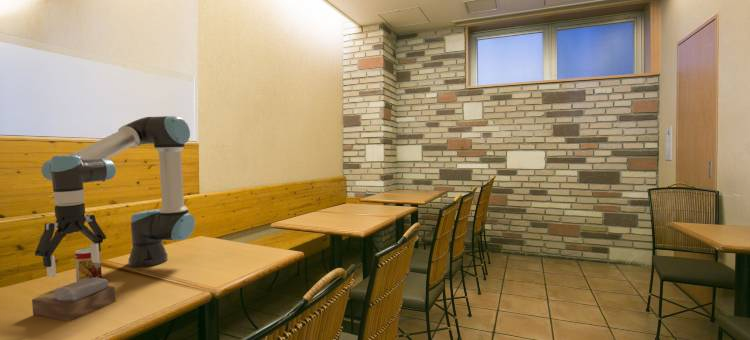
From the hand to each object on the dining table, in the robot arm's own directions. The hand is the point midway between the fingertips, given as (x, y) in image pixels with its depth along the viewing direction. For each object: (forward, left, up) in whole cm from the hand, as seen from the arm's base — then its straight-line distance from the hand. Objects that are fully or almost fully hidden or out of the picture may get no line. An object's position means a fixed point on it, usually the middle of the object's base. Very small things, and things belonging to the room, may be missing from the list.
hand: (75, 269), depth 122 cm
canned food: (-20, -21, -13) cm, 31 cm away
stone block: (0, +2, -8) cm, 8 cm away
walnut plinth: (0, 0, -13) cm, 13 cm away
